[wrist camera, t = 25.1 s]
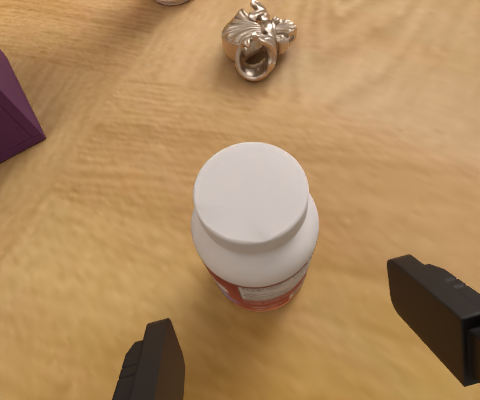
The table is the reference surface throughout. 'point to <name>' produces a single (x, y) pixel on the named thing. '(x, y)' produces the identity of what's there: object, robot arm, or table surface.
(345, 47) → the table surface
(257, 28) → the ornament
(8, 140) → the box
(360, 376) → the table surface
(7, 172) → the table surface
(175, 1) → the beer can
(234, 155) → the pill bottle
